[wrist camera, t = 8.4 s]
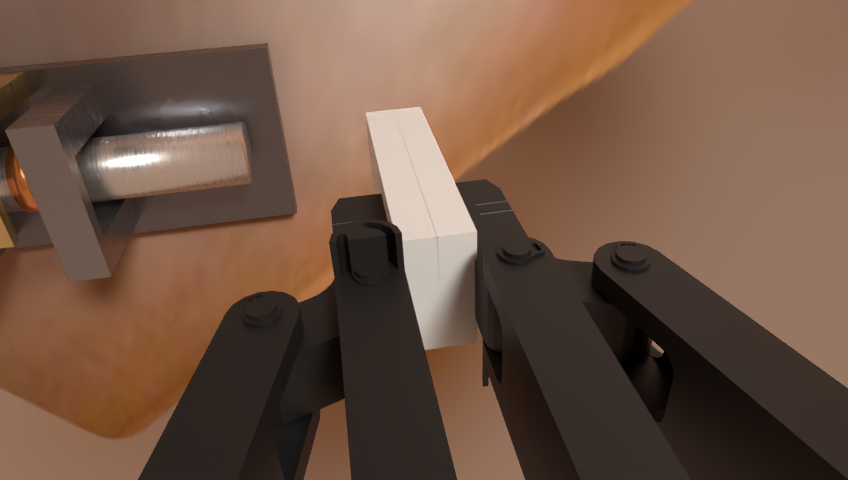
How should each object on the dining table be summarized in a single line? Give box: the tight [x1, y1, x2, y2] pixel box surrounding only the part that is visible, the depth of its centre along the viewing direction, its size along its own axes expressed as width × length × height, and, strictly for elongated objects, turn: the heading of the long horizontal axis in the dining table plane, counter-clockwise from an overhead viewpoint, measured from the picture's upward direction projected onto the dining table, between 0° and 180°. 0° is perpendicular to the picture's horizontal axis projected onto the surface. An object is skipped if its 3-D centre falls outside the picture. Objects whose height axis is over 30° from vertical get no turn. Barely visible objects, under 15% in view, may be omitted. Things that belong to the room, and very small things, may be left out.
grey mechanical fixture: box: [0, 43, 297, 283], centre depth 38 cm, size 12×24×9 cm, turn 93°
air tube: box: [0, 122, 254, 213], centre depth 39 cm, size 20×4×4 cm, turn 93°
